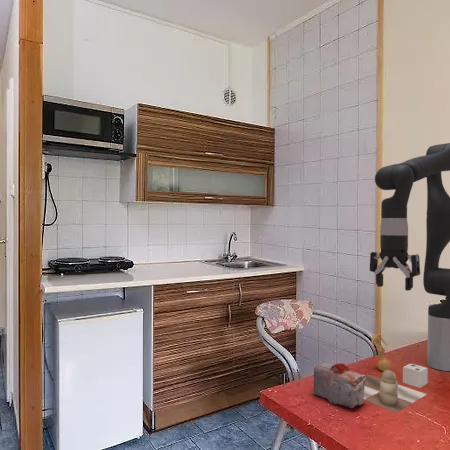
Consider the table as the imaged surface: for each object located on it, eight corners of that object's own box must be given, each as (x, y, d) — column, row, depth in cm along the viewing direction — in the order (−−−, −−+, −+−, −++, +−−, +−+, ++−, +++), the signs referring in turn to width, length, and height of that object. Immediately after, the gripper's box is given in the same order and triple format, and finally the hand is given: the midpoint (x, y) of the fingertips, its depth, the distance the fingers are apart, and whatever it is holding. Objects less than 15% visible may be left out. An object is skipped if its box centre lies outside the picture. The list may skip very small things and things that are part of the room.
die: (410, 379, 122) (410, 363, 122) (427, 384, 118) (427, 367, 118) (402, 383, 119) (403, 366, 119) (419, 389, 115) (419, 371, 115)
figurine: (383, 376, 124) (384, 338, 124) (365, 370, 129) (366, 333, 129) (395, 370, 130) (396, 333, 130) (378, 364, 134) (379, 329, 134)
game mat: (369, 375, 124) (369, 374, 124) (427, 394, 111) (427, 394, 111) (336, 389, 113) (336, 389, 113) (395, 413, 100) (395, 412, 100)
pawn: (384, 396, 109) (385, 366, 109) (400, 402, 105) (400, 370, 105) (376, 401, 106) (377, 369, 106) (392, 407, 103) (392, 374, 103)
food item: (369, 404, 105) (370, 367, 105) (355, 414, 99) (355, 375, 99) (324, 388, 114) (325, 354, 114) (309, 396, 109) (309, 360, 109)
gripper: (424, 233, 113) (424, 290, 114) (377, 232, 124) (377, 283, 125) (412, 234, 109) (412, 293, 109) (365, 233, 119) (364, 286, 120)
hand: (393, 288), depth 117 cm, fingers open, 8 cm apart
